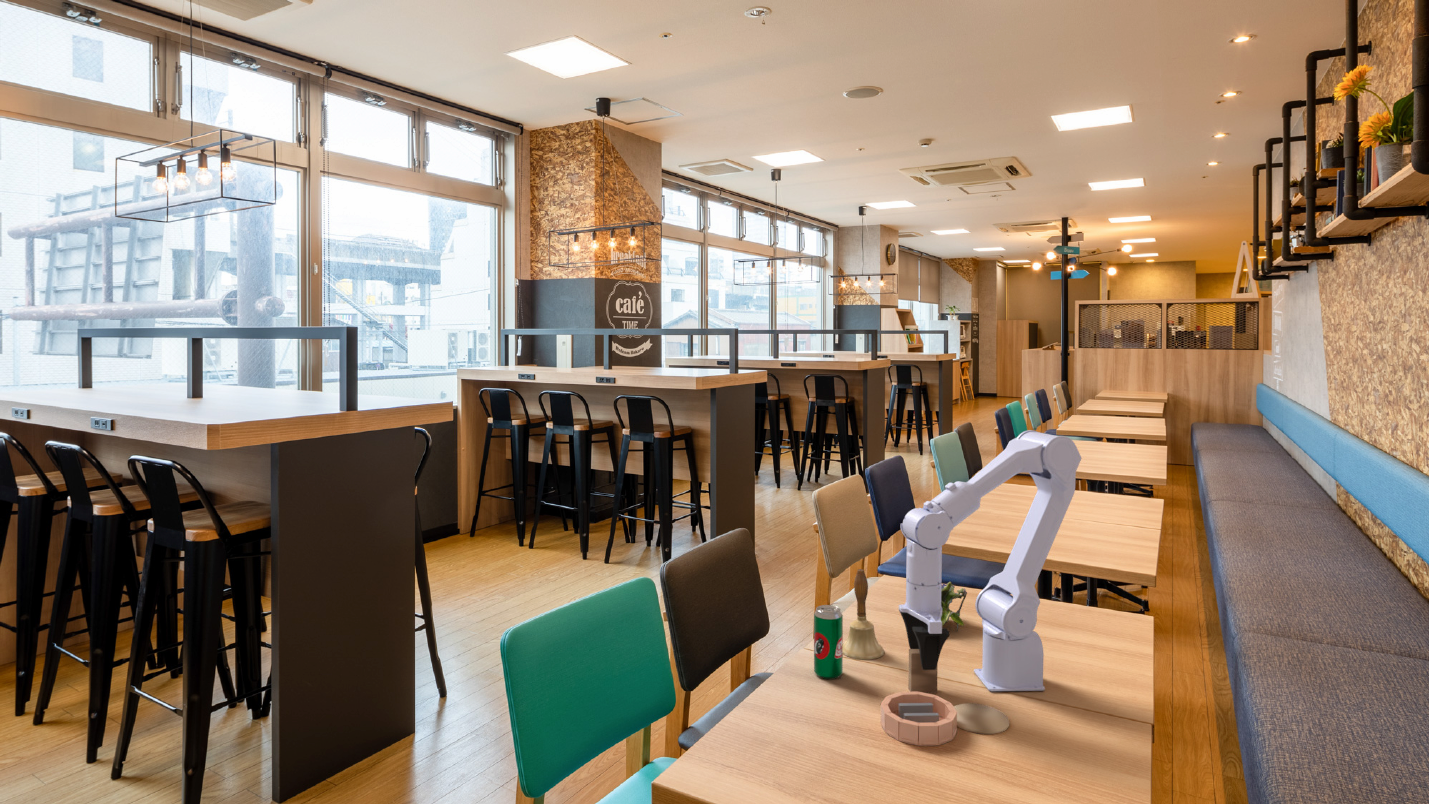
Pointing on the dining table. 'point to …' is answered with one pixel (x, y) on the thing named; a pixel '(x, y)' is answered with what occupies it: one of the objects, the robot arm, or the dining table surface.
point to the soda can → (828, 642)
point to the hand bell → (861, 627)
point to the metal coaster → (981, 718)
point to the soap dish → (918, 718)
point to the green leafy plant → (947, 598)
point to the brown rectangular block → (920, 675)
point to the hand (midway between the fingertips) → (922, 659)
